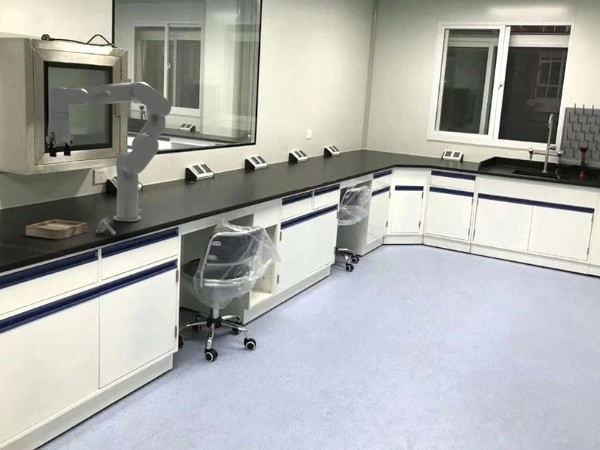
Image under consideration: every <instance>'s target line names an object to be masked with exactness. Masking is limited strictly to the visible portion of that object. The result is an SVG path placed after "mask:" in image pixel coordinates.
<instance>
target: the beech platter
mask: <svg viewBox="0 0 600 450" xmlns="http://www.w3.org/2000/svg"><path fill="white" fill-rule="evenodd" d="M87 232H88V222H81V221H79V222H78V221H71V220H64V219H63V220H62V219H51V220H46V221H42V222H41V221H40V222H37V223H34V224H29V225H26V226H25V236H29V237H30V236H31V237H38V238H39V237H40V238H46V239H55V240H64V239H67V238H70V237H74V236H78V235H81V234H84V233H87Z"/></svg>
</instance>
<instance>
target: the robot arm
mask: <svg viewBox="0 0 600 450" xmlns="http://www.w3.org/2000/svg"><path fill="white" fill-rule="evenodd" d="M49 100H50V101H49V103H50V107H49V108H50V109H49V111H50V112H49V113H50V114H49V117H50V119H49V121H48V128H47V136H46V137H45V140H46V144H47V147H48V148H49V151H48V153H49V154H48V155H49V157H50V158H57V157H58V155H57V153H58V152H57V145H58V144H63V156H64V157H71V156H72V153H71V151H72V150H71V149H72V144H73V141H74V135H72V133H71V122H70V105H72V106H78V107H82V106H85V105H92V104H93V105H94V104H104V105H109V104H111V105H112V104H122V103H133V102H140V103H142V104H143V106H145V108H146V113H147V120H146V122H145V123H144V125H143V127H141V128H140V131H138V133H137V135H136V136H135V137H134V138H133V139H132V143H131V147H132V150H131V151H123V152H120V153H119V155H117V157H116V161H115V168H116V177H117V178H116V180H117V181H116V183H117V184H116V185H117V186H116V215H113V220H114V221H118V222H137V221H142V216H140V215H139V214H141V213H142V211H143V210H142V209H141V208H139V174H141V173H142V172H143V171H144V170H145V169H146V167H147V166H148V165H149V164H150V162H151V161H152V160H153V159H154V157H155V156H156V154H157V153H158V150H159V148H160V147H159V146H160V145H159V141H158V139H159V138H160V136H161V135H162V134H163V133H164V130H165V128H166V117H167V116H168V115H170V113H171V112H172V111H171V110H172V105H171V102H170V101H169V100H168V99H167V98H166V97H164V96H163V95H162V94H161V93H160V92H158V91H157V90H156V89H155V88H153V87H152V86H151V85H149V84H148V83H147V82H144V81H135V82H134V81H133V82H132V81H131V82H120V83H109V84H102V85H95V86H85V87H73V88H67V87H61V86H52V87H51V88H50V90H49Z"/></svg>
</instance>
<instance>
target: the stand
mask: <svg viewBox="0 0 600 450" xmlns="http://www.w3.org/2000/svg"><path fill="white" fill-rule="evenodd" d="M110 221H111V219H110V218H108V217H105V218H103V219H102V220H101V221H99V223H98V225H97V228H96V233H98V234H99V233H103V232H104V231H106V230H108V231H109V232H110V233H111V235H113V236H115V235H116V233H117V232H116V231H115V230H114V228H112V226H111V225H110Z"/></svg>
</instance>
